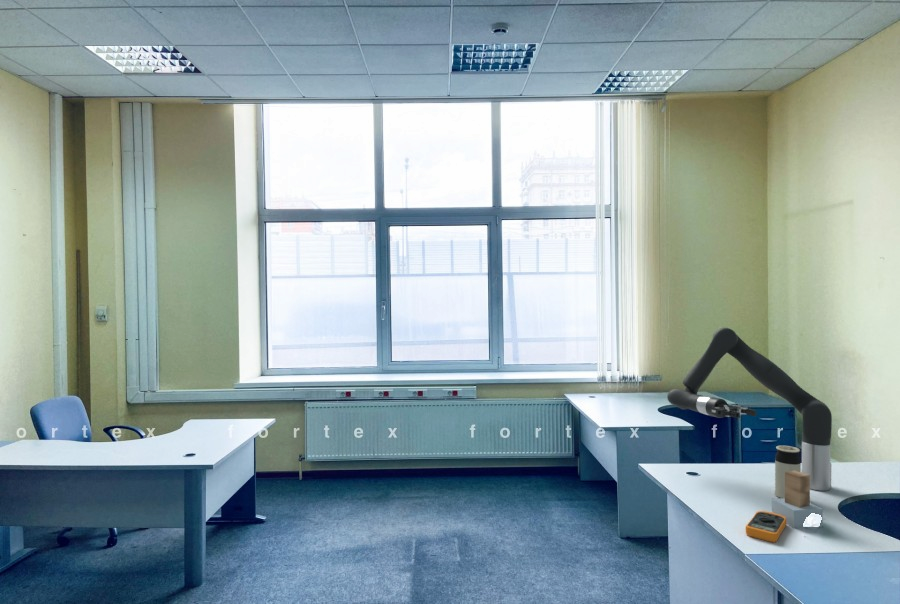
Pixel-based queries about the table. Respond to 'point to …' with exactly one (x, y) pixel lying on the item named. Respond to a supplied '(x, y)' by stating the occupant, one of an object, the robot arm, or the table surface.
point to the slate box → (795, 512)
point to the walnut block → (797, 488)
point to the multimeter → (766, 526)
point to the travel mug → (785, 466)
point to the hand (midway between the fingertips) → (747, 414)
